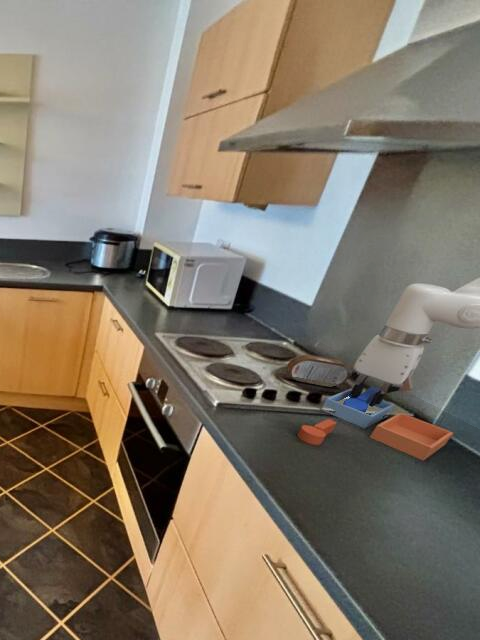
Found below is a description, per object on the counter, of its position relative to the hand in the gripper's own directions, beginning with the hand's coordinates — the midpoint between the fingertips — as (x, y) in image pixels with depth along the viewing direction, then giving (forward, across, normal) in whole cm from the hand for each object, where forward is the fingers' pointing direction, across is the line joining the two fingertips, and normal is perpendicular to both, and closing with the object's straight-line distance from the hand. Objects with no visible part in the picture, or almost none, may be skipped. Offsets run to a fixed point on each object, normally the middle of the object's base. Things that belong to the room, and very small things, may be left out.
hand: (363, 400), depth 109 cm
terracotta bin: (+3, -12, +6) cm, 14 cm away
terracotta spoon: (+3, -1, +25) cm, 25 cm away
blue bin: (+3, 0, +2) cm, 4 cm away
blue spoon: (+1, 0, 0) cm, 1 cm away
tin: (+3, +14, -7) cm, 16 cm away
